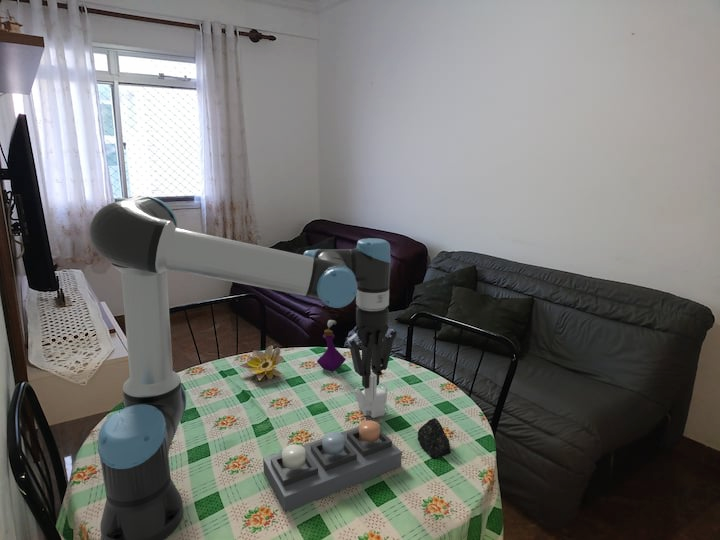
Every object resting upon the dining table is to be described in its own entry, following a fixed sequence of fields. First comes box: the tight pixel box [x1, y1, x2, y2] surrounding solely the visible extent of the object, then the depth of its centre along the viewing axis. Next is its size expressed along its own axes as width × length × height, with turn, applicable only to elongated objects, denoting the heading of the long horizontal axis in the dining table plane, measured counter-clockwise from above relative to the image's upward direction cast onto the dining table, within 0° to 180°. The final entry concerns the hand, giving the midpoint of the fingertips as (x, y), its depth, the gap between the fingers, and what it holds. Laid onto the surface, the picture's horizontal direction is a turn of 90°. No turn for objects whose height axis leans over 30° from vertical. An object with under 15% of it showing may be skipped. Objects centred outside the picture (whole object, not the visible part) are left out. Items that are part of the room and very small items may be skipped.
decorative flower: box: [238, 345, 285, 381], centre depth 152 cm, size 15×11×10 cm
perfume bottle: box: [316, 319, 347, 373], centre depth 155 cm, size 8×8×18 cm
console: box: [262, 426, 403, 514], centre depth 106 cm, size 30×14×6 cm, turn 120°
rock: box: [417, 417, 452, 460], centre depth 116 cm, size 7×10×6 cm
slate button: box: [321, 431, 344, 455], centre depth 105 cm, size 5×5×2 cm
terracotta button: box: [358, 420, 381, 442], centre depth 110 cm, size 5×5×2 cm
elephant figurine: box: [353, 381, 390, 418], centre depth 129 cm, size 10×12×9 cm
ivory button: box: [281, 444, 306, 469], centre depth 100 cm, size 5×5×2 cm
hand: (370, 398), depth 108 cm, fingers closed
